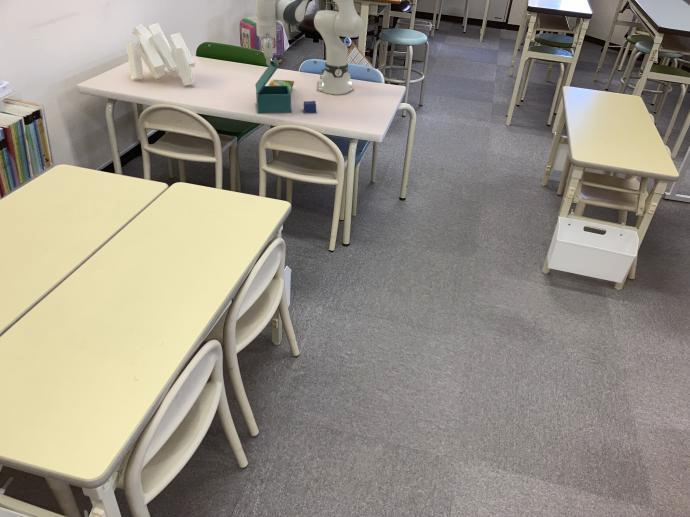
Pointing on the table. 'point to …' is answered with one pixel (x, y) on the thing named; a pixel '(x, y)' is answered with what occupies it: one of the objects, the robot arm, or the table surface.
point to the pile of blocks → (159, 54)
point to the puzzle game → (282, 83)
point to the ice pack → (309, 107)
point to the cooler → (274, 99)
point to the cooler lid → (267, 75)
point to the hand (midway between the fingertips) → (267, 62)
